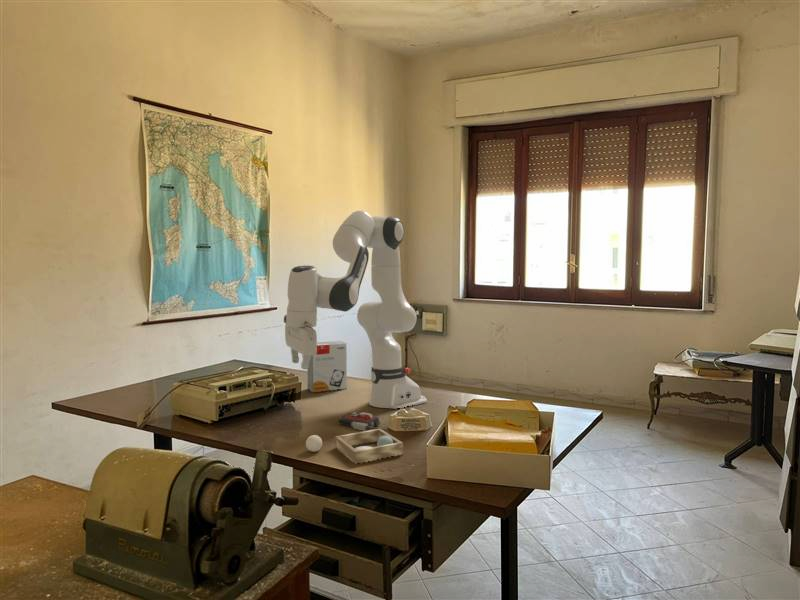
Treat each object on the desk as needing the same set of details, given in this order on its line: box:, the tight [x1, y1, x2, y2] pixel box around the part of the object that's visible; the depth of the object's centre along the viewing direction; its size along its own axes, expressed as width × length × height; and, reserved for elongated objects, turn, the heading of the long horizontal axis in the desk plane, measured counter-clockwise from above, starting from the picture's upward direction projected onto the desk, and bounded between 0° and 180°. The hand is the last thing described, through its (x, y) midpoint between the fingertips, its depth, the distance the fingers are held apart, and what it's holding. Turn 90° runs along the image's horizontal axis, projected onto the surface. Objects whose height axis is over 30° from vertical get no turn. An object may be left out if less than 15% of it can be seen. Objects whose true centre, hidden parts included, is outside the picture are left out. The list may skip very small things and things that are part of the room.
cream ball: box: [305, 434, 323, 453], centre depth 167 cm, size 5×5×5 cm
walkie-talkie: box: [338, 411, 388, 433], centre depth 189 cm, size 9×4×20 cm
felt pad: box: [355, 445, 373, 450], centre depth 167 cm, size 6×6×1 cm
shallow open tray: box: [334, 428, 404, 465], centre depth 166 cm, size 15×15×4 cm
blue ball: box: [376, 436, 393, 447], centre depth 165 cm, size 5×5×5 cm
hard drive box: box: [306, 340, 348, 393], centre depth 240 cm, size 16×8×20 cm, turn 115°
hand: (299, 365), depth 170 cm, fingers open, 8 cm apart
